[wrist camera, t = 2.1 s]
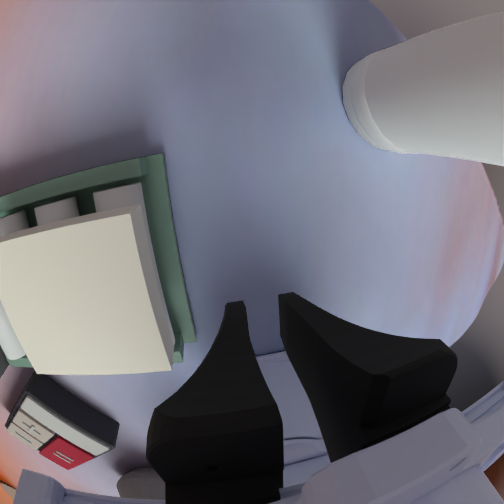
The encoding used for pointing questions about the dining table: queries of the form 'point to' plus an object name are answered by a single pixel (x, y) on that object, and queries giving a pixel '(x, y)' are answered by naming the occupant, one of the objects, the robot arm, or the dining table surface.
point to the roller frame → (97, 200)
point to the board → (86, 296)
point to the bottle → (434, 93)
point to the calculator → (60, 424)
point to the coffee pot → (142, 485)
